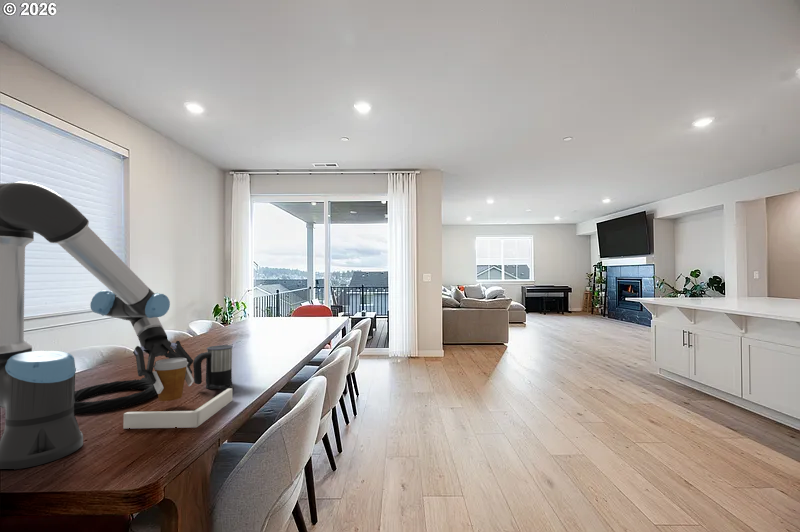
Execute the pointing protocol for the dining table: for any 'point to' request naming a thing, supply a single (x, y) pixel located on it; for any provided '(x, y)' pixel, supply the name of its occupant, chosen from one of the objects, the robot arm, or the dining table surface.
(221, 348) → the milk frother
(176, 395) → the disposable coffee cup
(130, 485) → the dining table surface
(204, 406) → the bracket
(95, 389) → the cable lock
